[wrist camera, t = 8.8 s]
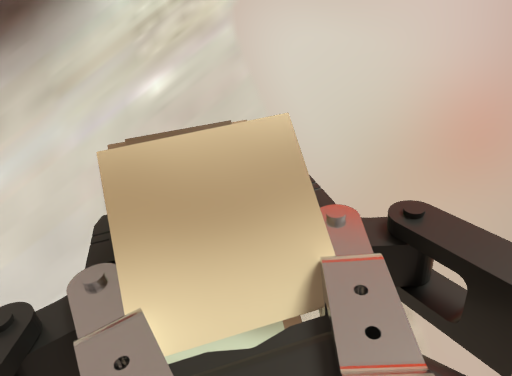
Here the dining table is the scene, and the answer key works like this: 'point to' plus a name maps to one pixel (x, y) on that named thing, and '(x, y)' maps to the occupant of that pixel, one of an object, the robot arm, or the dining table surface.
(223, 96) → the dining table surface
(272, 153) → the maple block
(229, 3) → the dining table surface
